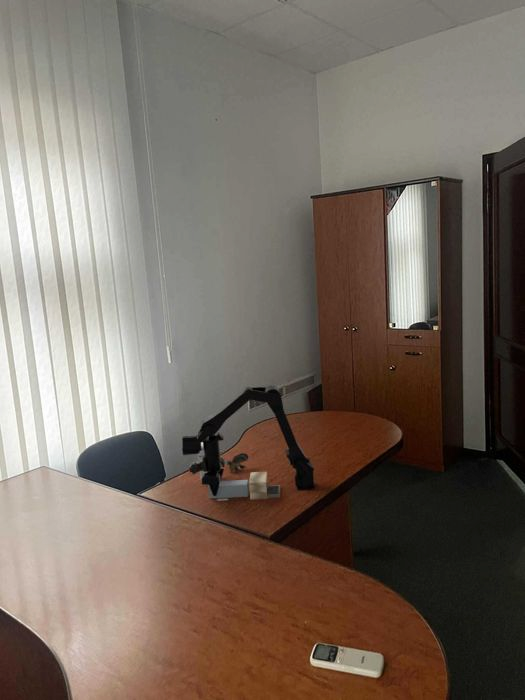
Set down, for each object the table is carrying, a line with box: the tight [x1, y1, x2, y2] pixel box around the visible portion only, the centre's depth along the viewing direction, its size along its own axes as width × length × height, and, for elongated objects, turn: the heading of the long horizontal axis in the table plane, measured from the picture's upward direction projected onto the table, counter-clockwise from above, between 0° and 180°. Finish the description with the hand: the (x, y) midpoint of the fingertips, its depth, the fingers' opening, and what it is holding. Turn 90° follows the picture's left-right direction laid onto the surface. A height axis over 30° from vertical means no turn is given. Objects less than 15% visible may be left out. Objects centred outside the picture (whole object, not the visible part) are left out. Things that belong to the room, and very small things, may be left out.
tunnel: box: [248, 471, 269, 500], centre depth 200 cm, size 6×10×6 cm, turn 177°
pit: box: [267, 484, 281, 499], centre depth 200 cm, size 5×9×1 cm, turn 177°
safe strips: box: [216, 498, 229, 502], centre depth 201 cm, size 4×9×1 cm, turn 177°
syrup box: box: [197, 442, 207, 483], centre depth 216 cm, size 6×6×14 cm
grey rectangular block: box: [208, 479, 250, 499], centre depth 201 cm, size 14×4×5 cm, turn 87°
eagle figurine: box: [225, 453, 249, 474], centre depth 225 cm, size 8×7×9 cm
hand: (215, 492), depth 201 cm, fingers closed on grey rectangular block, 4 cm apart
